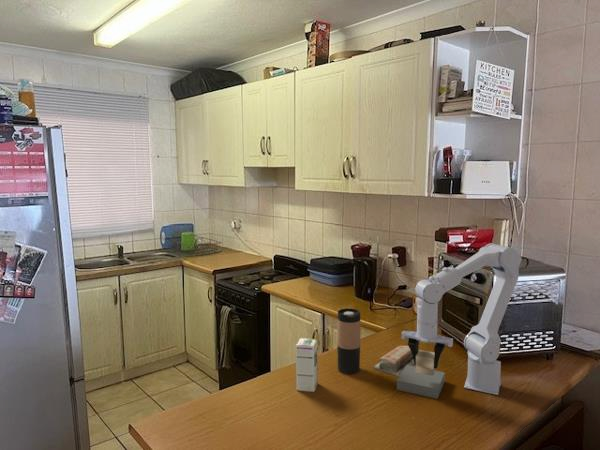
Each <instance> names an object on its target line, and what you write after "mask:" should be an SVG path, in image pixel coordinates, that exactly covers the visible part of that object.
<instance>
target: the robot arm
mask: <svg viewBox="0 0 600 450" xmlns="http://www.w3.org/2000/svg"><path fill="white" fill-rule="evenodd" d="M522 260H523V259H522V256H521V255H520V253H519V251H518V250H517V249H516V248H515V247H509V246H503V245H500V244H497V243H493V242H492V243H491V242H490V243H488V244H486V245H485V246H481V247H480V248H479V250H478V252H476V253H475V254H473V255H472V256H470V257H469V258H467V259H466V260H464V261H463V262H462V263H460V264H459V265H457V266H456V267H451V266H448V267H446V266H444V267H442V268H441V270H442V271H440V272H438V273H436V274H434V275H433V276H432V275H430V276H429V277H428V279H421V280H419V281H418V282H417V283H416V284H415V285H416V286H415V288H413V292H414V294H415V296H416V297H417V299H416V300H417V302H416V303H417V306H416V307H417V310H416V311H417V312H416V313H417V314H416V331H412V330H411V331H410V330H409V331H407V330H403V331H402V332H401V340H408V342H407V346H409V348H410V350H411V352H412V355H413V358H414V364H415V366H416V355H417V353H418V352H419V347H420V346H419V345H420V342H421V343H427V344H428V343H429V344H434V347H433V348H434V353H435V360H434V368H435V369H436V370H437V368H438V366H439V365H438V364H439V361H440V358H441V355H442V353H443V351H444V349H445V347H448V348H452V347H453V345H454V344H453V343H454V338H451V337H448V336H447V337H446V336H444V335H440V334H438V312H439V309H438V308H439V307H438V306H439V302H440V301H441V299H442V297H443V295H444V294H446V292H449V291H451V290H452V289H454V288H455V287H457V286H458V285H460V284H461V282H462V278H464V277H466V276H468V275H470V274H472V273H473V272H476V271H477V270H480V269H481V268H484V267H490V268H492V270H493V272H494V274H495V276H496V279H495V281H494V284H493V286H492V288H491V292H490V295H489V296H488V300H487V302H486V305H485V308H484V310H483V313H482V315H481V317H480V320H479V322H478V324H477V325H474V326H472V327H471V328H470V331H469V332H468V333H467V334H466V335H465V337H464V340H463V346H464V348H465V349H466V350H467V376H466V378H465V383H464V385H463V386H464V387H463V388H464V389H468V390H472V391H478V392H481V393H487V394H492V395H497V396H498V395H500V394H499V392H500V387H502V386H501V385H502V380H501V370H502V369H501V368H502V367H501V365H502V362H501V361H500V360H497V359H498V358H499V356H500V346H501V342H502V340H501V338H500V335H499V333H498V331H499V328H500V326H501V324H502V321H503V318H504V315H505V313H506V311H507V307H508V306H509V302H510V300H511V298H512V295H513V293H514V289H515V287H516V284H517V282H518V280H519V269H520V266H521V263H522Z"/></svg>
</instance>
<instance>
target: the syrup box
mask: <svg viewBox="0 0 600 450" xmlns="http://www.w3.org/2000/svg"><path fill="white" fill-rule="evenodd" d="M318 371H319V369H318V340H317V339H316V338H307V337H306V338H305V337H304V338H302V337H301V338H299V339H298V341H297V342H296V344H295V376H296V377H295V378H296V380H295V381H296V385H295V386H296V391H301V392H313V393H314V392H315V391H316V389H317V386H318V382H319V381H318V380H319V377H318V375H319V374H318Z"/></svg>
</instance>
